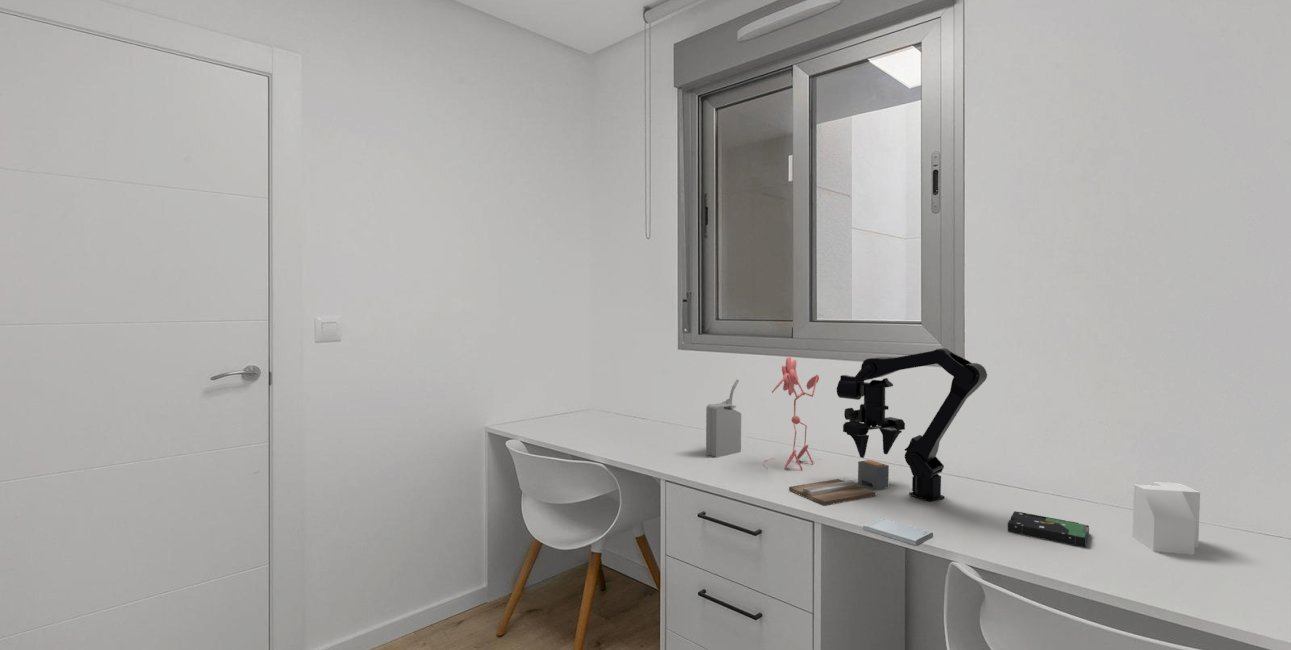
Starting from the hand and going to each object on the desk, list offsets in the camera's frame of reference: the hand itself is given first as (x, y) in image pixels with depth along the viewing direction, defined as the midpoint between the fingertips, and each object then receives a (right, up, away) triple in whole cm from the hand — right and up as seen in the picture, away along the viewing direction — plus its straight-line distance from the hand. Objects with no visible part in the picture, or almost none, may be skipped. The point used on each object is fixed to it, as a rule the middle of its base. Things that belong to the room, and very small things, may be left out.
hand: (873, 455), depth 175 cm
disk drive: (+26, -11, -36) cm, 46 cm away
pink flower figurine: (-19, -8, +23) cm, 31 cm away
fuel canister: (-37, -7, +38) cm, 54 cm away
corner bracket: (+48, -11, -42) cm, 65 cm away
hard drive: (-8, -11, -36) cm, 38 cm away
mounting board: (-14, -9, -7) cm, 18 cm away
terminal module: (0, -9, 0) cm, 9 cm away
